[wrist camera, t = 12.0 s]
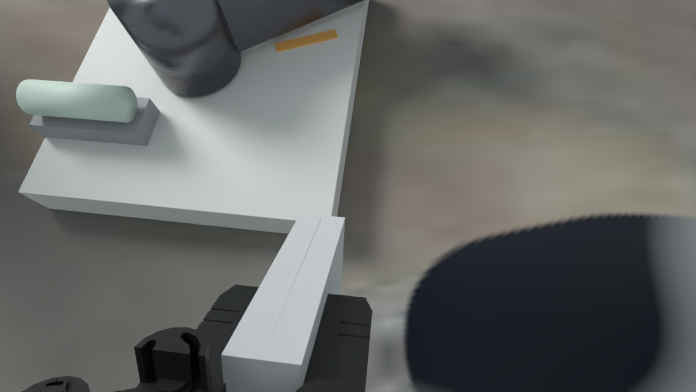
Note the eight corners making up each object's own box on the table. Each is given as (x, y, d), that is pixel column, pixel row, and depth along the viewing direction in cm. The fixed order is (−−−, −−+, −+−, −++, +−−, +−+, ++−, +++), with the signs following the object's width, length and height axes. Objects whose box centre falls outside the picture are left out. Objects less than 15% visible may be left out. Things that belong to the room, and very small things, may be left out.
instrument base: (49, 208, 31) (-34, 164, 25) (149, -13, 41) (108, -86, 35) (333, 238, 29) (323, 198, 23) (369, -3, 39) (369, -79, 32)
